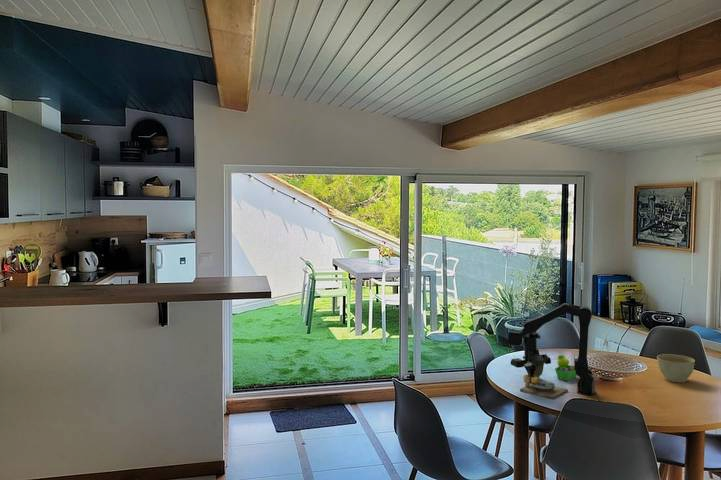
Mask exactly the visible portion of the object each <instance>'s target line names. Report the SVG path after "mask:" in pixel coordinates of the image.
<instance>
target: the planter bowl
mask: <svg viewBox="0 0 721 480" xmlns="http://www.w3.org/2000/svg"><path fill="white" fill-rule="evenodd" d="M656 359H657V366H658V368H659V371H660V373H661V374H662V376H663V377H664V378H663V379H664V380H666V381H669V382H671V383H686V382H688V381H687V380H688V379H689V377H690V376H691V375H692V374H693V371H694V368H695V363H696V360H695V359H694V358H693V357H691V356H690V357H689V356H685V355H679V354H672V353H671V354H669V353H663V354H659V355H657V356H656Z"/></svg>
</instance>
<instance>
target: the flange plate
mask: <svg viewBox="0 0 721 480" xmlns="http://www.w3.org/2000/svg"><path fill="white" fill-rule="evenodd" d="M526 376H529V385H530V384H532V386H533V387H534V388H537V389H542V390H551V389H554V388H555V386H556V385H555V383H554V382H551V381H547V380H545V381H546V384H541V381H542V380H539V379H540V378H539V377H535V376H531V375H528V373H527V374H524V375H523V383H525V377H526Z"/></svg>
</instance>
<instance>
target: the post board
mask: <svg viewBox="0 0 721 480" xmlns="http://www.w3.org/2000/svg"><path fill="white" fill-rule="evenodd" d="M540 381H541V384H546V381H547V380H540ZM519 391H520V392H523V393H526V394H530V395H534V396H539V397H542V398H547V399H551V400H554V399H556V398H558V397H561V396H562V395H563V394H565V393H568V391H569V389H568V388H564V387H559V386H556V385H555V388H554V389H551V390H542V389H537V388H534V387H533V386H532V384H529V387H525V386H523V387H521V388H519Z"/></svg>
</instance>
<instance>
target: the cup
mask: <svg viewBox="0 0 721 480" xmlns="http://www.w3.org/2000/svg"><path fill="white" fill-rule="evenodd" d="M543 372H544V366H539V367H538V368H536V370H535V373H534V375H533V376H535V377H539V379H540V378H541V377H540V376H542V375H543Z"/></svg>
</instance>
